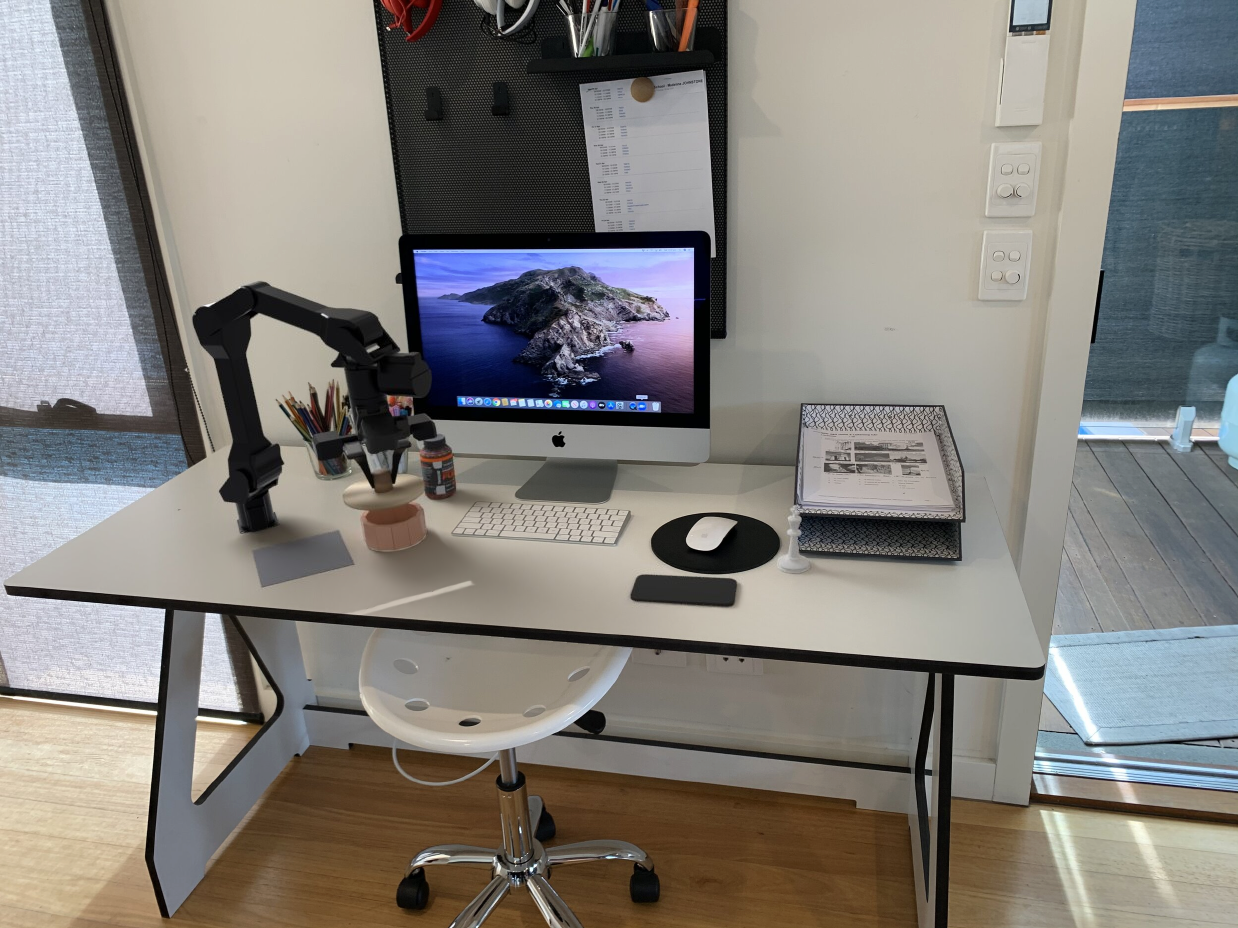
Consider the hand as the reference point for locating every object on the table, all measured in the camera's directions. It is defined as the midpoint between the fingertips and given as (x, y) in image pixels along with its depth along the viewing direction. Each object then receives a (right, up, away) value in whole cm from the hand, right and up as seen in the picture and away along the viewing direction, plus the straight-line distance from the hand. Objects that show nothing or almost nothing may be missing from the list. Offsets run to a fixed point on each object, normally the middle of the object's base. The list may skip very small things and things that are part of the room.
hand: (383, 485), depth 146 cm
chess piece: (+65, -12, -10) cm, 67 cm away
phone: (+48, -16, -15) cm, 53 cm away
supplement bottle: (+5, -2, +22) cm, 22 cm away
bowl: (+1, -9, +4) cm, 10 cm away
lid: (0, -1, 0) cm, 1 cm away
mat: (-13, -12, -1) cm, 18 cm away
